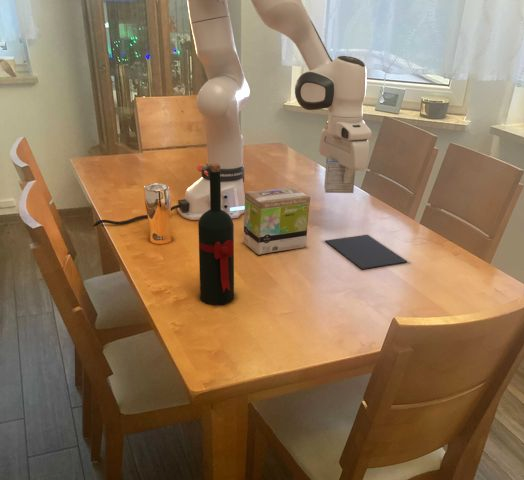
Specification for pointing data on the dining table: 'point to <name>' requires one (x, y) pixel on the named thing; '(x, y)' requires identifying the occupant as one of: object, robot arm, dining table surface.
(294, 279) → the dining table surface
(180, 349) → the dining table surface
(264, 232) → the tea box
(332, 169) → the medicine box
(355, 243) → the felt mat
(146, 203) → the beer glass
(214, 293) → the wine bottle
